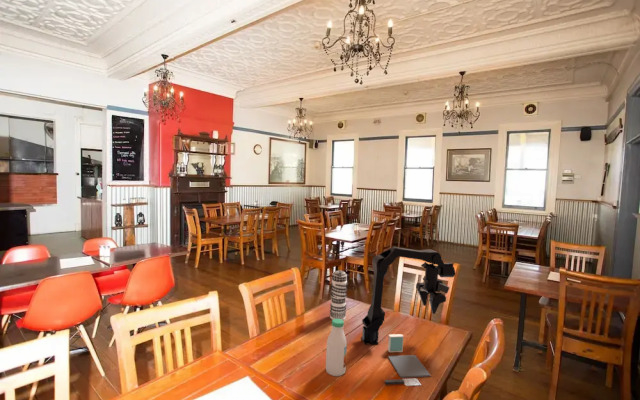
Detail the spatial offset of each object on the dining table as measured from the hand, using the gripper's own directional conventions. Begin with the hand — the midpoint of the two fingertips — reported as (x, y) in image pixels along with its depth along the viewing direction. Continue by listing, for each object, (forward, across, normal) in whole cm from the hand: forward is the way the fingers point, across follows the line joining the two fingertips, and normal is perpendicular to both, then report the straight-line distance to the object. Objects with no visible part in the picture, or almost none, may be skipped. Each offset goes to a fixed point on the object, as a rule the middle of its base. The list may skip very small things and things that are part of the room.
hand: (429, 309), depth 153 cm
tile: (+15, -9, +19) cm, 26 cm away
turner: (+15, -31, +24) cm, 42 cm away
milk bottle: (+15, -22, +48) cm, 55 cm away
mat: (+15, -21, +18) cm, 31 cm away
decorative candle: (+15, +26, +38) cm, 49 cm away
